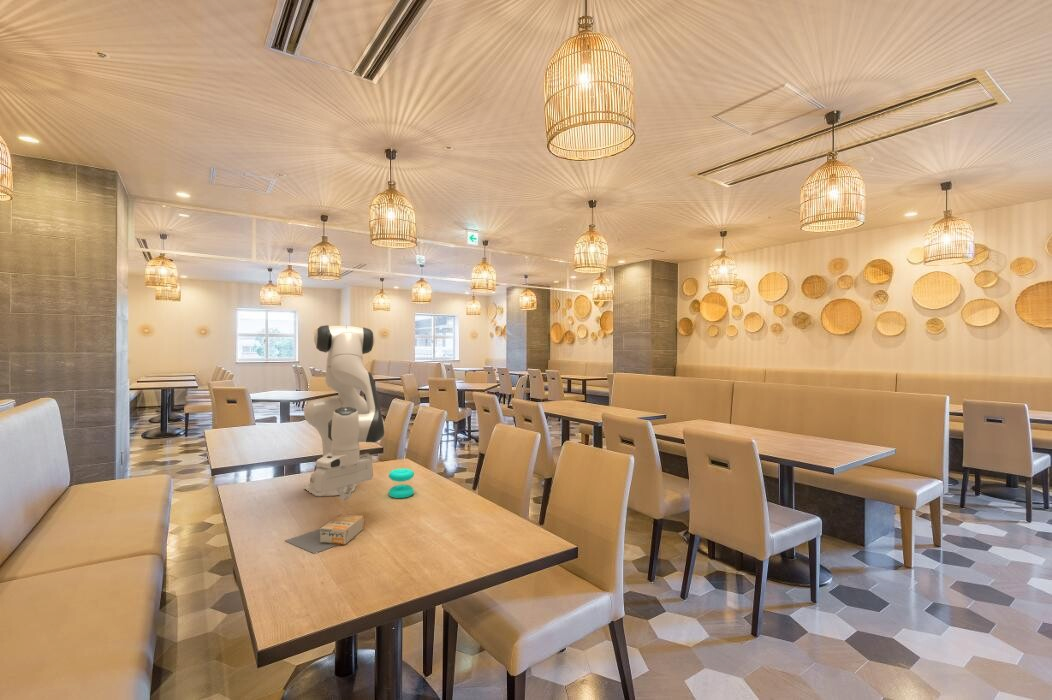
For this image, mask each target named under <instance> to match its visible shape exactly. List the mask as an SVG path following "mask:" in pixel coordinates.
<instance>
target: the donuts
mask: <svg viewBox="0 0 1052 700" xmlns="http://www.w3.org/2000/svg"><path fill="white" fill-rule="evenodd" d="M414 472H415V471H413V469H410V468H396V469H393V470H391V471H390V472H389V473H388V478H389V479H390V480H391V481H394V482H399V483H400V482H407V481H409V480H411V479H413V478H414V475H415V473H414ZM414 492H415V489H414V487H412V486H411V485H410V484H396V485H394V486H392V487H391V488H390V489H389V490H388V495H389V496H390V497H391V498H393V499H394V498H395V499H405V498H408V497H409V498H410V497H412V496H413V495H414Z"/></svg>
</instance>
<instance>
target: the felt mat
mask: <svg viewBox="0 0 1052 700" xmlns="http://www.w3.org/2000/svg"><path fill="white" fill-rule="evenodd" d="M320 530H321V528H318V529H316V530H312V531H309V532H306V533H303V534H300V535H297V536H294V537H292V538H288V539H286V540H284V542H286V543H289V544H291V545H293V546H295V547H297V548H299V547H300V548H299V549H301V550H304V551H306V550H307V552H308V551H309V553H311V552H312V553H311V554H313V553H316V552H318V553H321V552H324V551H326V550H329V549H331V547H332V548H335V547H337V546H340V545H339V544H332V543H321V542H320ZM355 539H356V537H355V536H354V537H353V538H352V539H351V541H353V540H355ZM334 546H335V547H334ZM323 550H324V551H323ZM320 551H321V552H320ZM316 554H317V553H316Z"/></svg>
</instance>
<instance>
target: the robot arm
mask: <svg viewBox="0 0 1052 700" xmlns="http://www.w3.org/2000/svg"><path fill="white" fill-rule="evenodd" d="M313 341H314V344H315V347H316V349H317V350H318V351H320V352H322V353H327V358H326V368H325V369H326V370H325V385H326V386H327V387H328V388H330V389H331V390H333V391H335V392H337V393H338V394H337V395H338V396H337V397H331V398H327V397H326V398H320V399H315V400H311V401H309V402H308V403H307V404H306V405H305V407H304V412H303V416H304V419H305V421H306V422H307V423H308V424H309V426H310V425H311V426H312V427H314V429H316V430H317V432H318V434H319V435H320V437H321V442H322V445H321V446H322V457H320V458H318V459H317V460H316V462H315V463H316V470H315V471H313V472H312V473H311V474H310V477H309V484H307V485H305V486H303V490H305V489H306V490H307V491H306V490H305V491H306V492H308V491H309V492H308V493H309V494H311V493H312V494H311V495H313V496H315V497H327V496H328V497H331V496H332V497H333V496H339V501H345V500H348V499H349V500H350V499H351V493H352V492H354V491H355V490H356V487H357V486H358V484H360V483H363V482H367V481H371V480H372V479H373V478H374V465H373V463H372V462H373V458H372V457H373V456H372V454H370V453H368V452H365V453H360V448H361V447H360V444H359V443H377V442H378V441H380V440H381V439H383V437H384V436H385V433H386V426H385V424H386V423H385V421H384V417H383V415H382V411H381V406H380V402H379V398H378V392H377V387H376V383H375V380H374V376H373V374H372V373H371V372H370V371H367V369H366V368H365V366H364V360H363V359H364V355H365V354H368V353H370V352H371V351H372V350H373V347H374V345H375V336H374V332H373V330H372V329H370V328H368V327H359V326H354V325H353V326H352V325H329V324H326V325H320V326H319V327H318V328H317V330H316V331H315V333H314V337H313ZM357 390H359V391H361V392H362V393H363V394H364V396H365V398H363V397H362V396H361V395H360V394H359V392H358V391H357Z"/></svg>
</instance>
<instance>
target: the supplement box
mask: <svg viewBox="0 0 1052 700" xmlns="http://www.w3.org/2000/svg"><path fill="white" fill-rule="evenodd" d="M364 518H365V517H364V515H357V514H356V515H354V514H351V515H350V514H341V513H340V514H339V515H337V516H336V517H334V518H333V519H332V520H330V521H329V522H328V523H326V524H324V525H323V526H322V527H320V529H321V530H320V542H321V543H332V544H340V545H346V544H347V543H348V542H350V540H351V539H352V538H353V537H354V538H355V537H356V536H357V535H359V533H361V532H362V531H363V530H364ZM351 541H352V540H351Z"/></svg>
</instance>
